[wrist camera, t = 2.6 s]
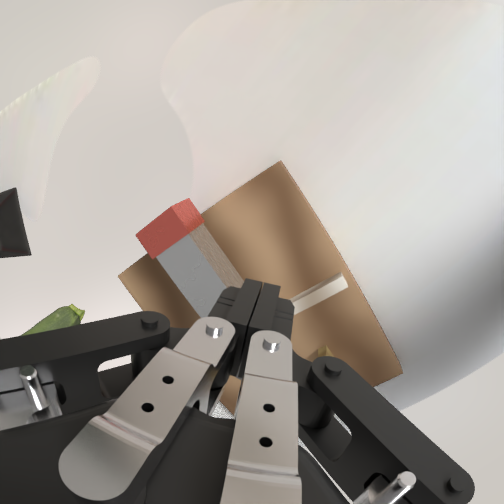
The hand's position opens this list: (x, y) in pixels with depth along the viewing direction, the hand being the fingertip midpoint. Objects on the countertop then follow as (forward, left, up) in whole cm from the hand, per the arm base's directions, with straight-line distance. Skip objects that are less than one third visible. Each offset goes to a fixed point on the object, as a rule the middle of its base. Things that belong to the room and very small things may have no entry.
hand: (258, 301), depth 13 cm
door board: (+6, +7, -12) cm, 15 cm away
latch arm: (+5, +1, -9) cm, 10 cm away
